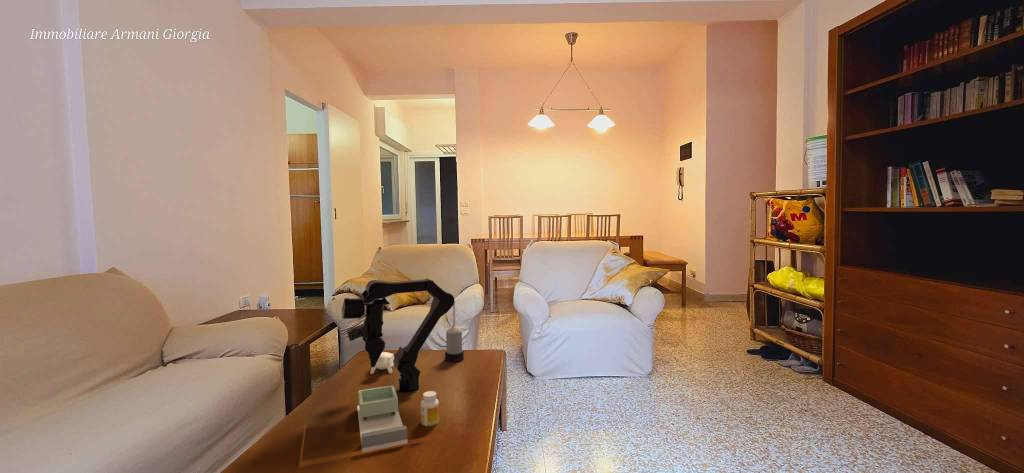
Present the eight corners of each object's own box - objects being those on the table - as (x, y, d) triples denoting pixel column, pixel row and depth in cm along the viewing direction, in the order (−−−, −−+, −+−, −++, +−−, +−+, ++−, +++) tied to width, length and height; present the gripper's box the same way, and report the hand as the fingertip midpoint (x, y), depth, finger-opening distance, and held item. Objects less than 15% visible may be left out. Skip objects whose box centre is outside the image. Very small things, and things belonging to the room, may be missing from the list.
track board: (394, 402, 148) (394, 390, 147) (407, 443, 122) (407, 429, 121) (357, 408, 143) (356, 396, 143) (362, 452, 117) (361, 438, 117)
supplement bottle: (442, 422, 134) (442, 391, 133) (433, 430, 129) (433, 398, 128) (426, 419, 136) (426, 388, 135) (417, 427, 130) (417, 396, 130)
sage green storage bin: (393, 401, 145) (393, 385, 145) (398, 416, 135) (397, 398, 135) (358, 407, 141) (358, 390, 141) (360, 422, 131) (360, 404, 131)
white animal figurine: (374, 374, 181) (366, 373, 167) (376, 353, 184) (367, 350, 169) (395, 373, 182) (388, 373, 168) (396, 352, 184) (389, 350, 170)
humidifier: (456, 363, 184) (455, 305, 183) (441, 360, 188) (440, 303, 187) (467, 357, 191) (467, 301, 190) (452, 354, 195) (452, 299, 194)
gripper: (348, 312, 155) (345, 355, 155) (349, 324, 137) (347, 373, 138) (380, 311, 159) (378, 354, 159) (386, 323, 141) (383, 371, 142)
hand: (371, 362), depth 149 cm, fingers open, 9 cm apart
